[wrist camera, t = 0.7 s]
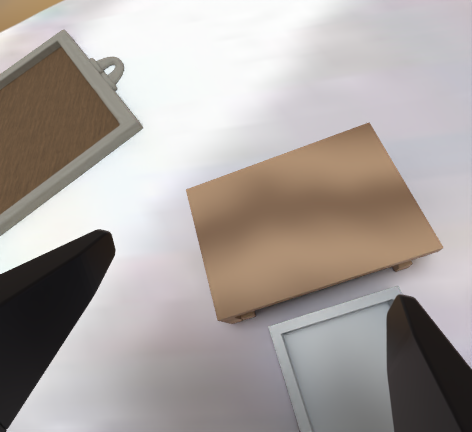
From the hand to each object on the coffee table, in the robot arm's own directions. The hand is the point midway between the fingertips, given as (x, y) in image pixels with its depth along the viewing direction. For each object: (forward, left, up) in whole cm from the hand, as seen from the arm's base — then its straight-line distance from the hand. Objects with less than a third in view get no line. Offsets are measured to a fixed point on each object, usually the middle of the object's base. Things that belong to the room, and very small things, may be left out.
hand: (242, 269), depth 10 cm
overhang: (+4, -3, -13) cm, 14 cm away
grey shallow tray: (-6, -3, -13) cm, 14 cm away
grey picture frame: (+24, +22, -13) cm, 35 cm away
